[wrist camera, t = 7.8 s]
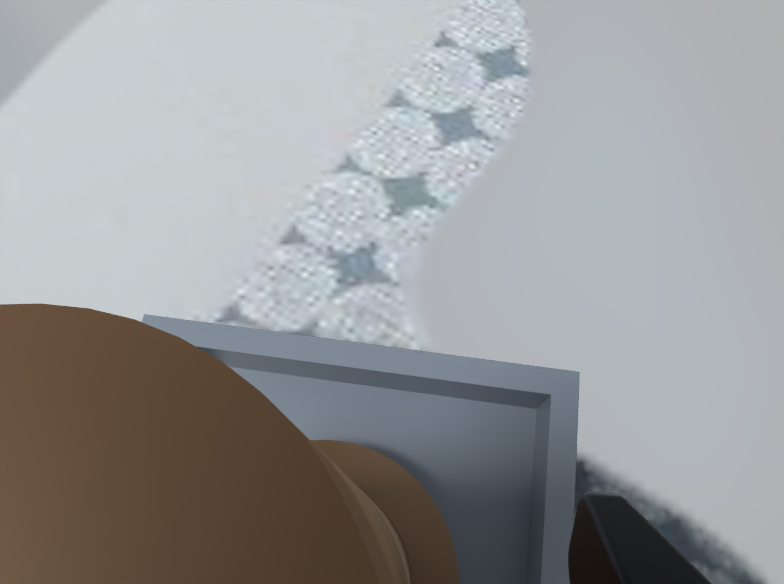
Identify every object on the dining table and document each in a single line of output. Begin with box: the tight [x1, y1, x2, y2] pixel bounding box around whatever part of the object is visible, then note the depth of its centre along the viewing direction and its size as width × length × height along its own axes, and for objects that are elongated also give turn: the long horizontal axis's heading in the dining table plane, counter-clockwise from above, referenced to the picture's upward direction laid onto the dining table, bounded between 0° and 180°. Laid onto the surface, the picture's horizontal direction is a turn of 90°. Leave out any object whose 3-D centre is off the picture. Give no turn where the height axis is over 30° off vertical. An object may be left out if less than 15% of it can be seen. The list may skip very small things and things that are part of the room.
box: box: [142, 314, 579, 584], centre depth 14 cm, size 10×10×2 cm
